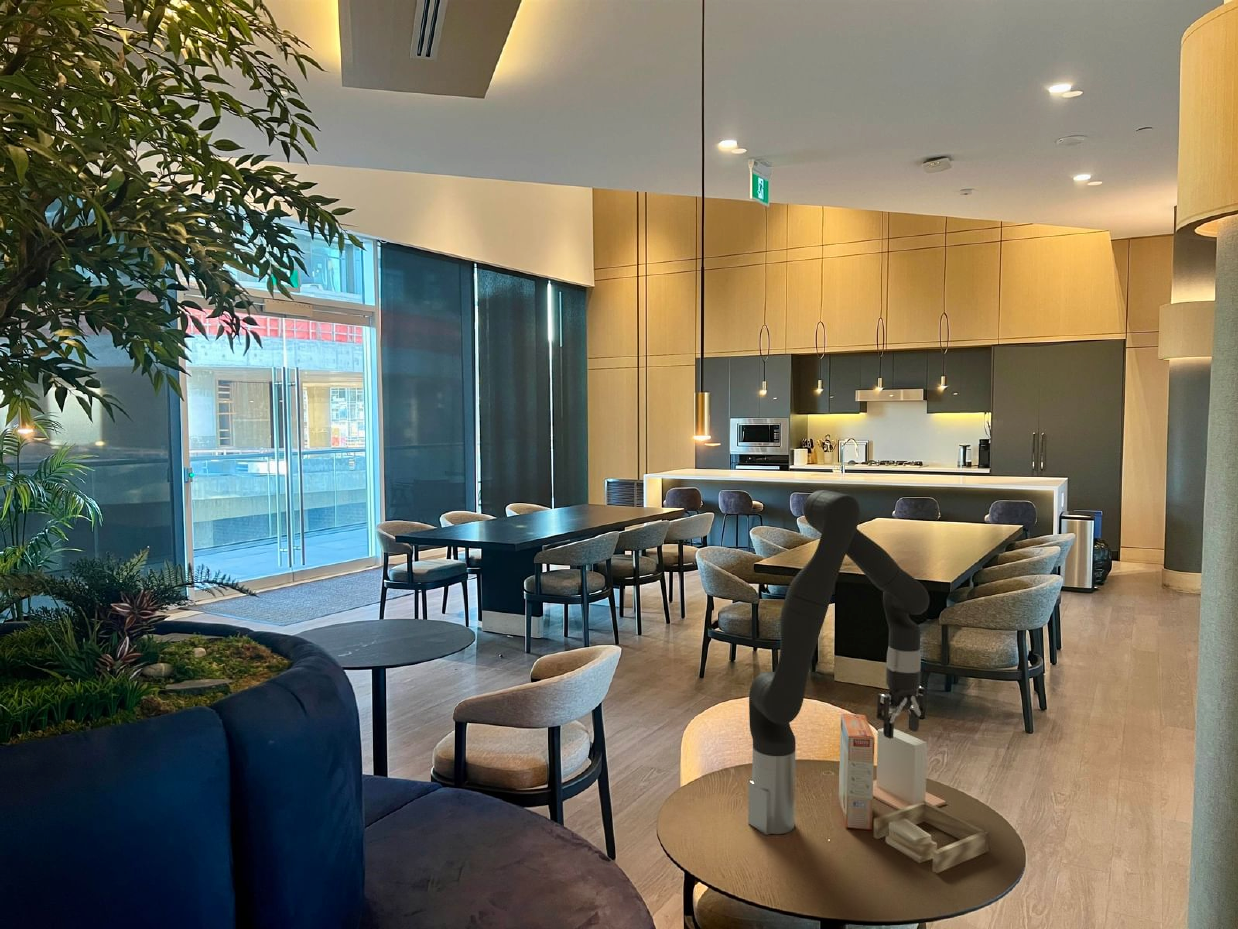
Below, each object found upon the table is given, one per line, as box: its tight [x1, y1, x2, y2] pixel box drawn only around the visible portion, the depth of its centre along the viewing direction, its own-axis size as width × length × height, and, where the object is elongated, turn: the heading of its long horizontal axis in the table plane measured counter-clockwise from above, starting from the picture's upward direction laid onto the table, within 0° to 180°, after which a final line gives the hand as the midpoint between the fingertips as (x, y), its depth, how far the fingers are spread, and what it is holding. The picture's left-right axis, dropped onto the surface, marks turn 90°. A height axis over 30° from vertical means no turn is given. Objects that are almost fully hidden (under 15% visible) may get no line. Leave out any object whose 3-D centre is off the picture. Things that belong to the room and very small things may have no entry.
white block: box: [876, 727, 928, 805], centre depth 192 cm, size 4×11×14 cm, turn 31°
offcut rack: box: [873, 801, 989, 874], centre depth 171 cm, size 16×16×4 cm
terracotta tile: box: [873, 779, 947, 811], centre depth 193 cm, size 12×16×1 cm
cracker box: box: [838, 713, 876, 831], centre depth 183 cm, size 14×6×21 cm, turn 171°
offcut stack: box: [885, 819, 938, 864], centre depth 169 cm, size 5×9×4 cm, turn 27°
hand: (900, 734), depth 192 cm, fingers open, 8 cm apart
